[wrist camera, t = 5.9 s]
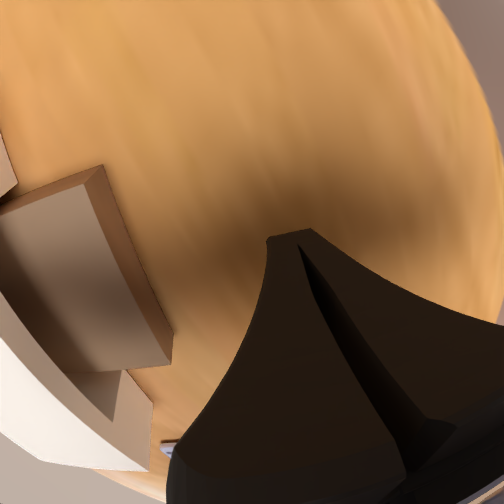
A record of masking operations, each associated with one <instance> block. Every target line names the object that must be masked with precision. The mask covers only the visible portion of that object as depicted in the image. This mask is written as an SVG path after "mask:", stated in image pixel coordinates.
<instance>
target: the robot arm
mask: <svg viewBox="0 0 504 504" xmlns="http://www.w3.org/2000/svg"><path fill="white" fill-rule="evenodd" d="M266 244H267V262H266V269H265V274H264V280H263V284H262V288H261V292H260V295H259V299H258V302H257V306H256V309H255V312H254V314H253V317H252V320H251V323H250V325H249V328H248V330H247V332H246V335H245V337H244V339H243V341H242V343H241V346H240V348H239V350H238V352H237V354H236V356H235V358H234V360H233V362H232V364H231V365H230V367H229V369H228V371H227V373H226V374H225V376H224V377H223V379H222V381H221V382H220V384H219V386H218V387H217V389H216V390H215V392H214V394H213V395H212V397H211V398H210V400H209V401H208V403H207V404H206V406H205V407H204V409H203V410H202V411H201V413H200V414H199V415H198V417H197V418H196V419H195V421H194V422H193V423H192V424H191V426H190V427H189V428H188V430H187V431H186V432H185V433H184V435H183V436H182V437H181V439H180V440H179V441H178V442H177V443H162V444H160V450H161V451H162V452H163V453H164V454H165V455H167V456H168V457H169V458H170V459H171V460H170V464H169V470H168V477H167V484H166V504H468V503H470V502H471V501H473V500H475V499H476V498H478V497H480V496H481V495H483V494H484V493H486V492H487V491H489V490H490V489H492V488H494V487H495V486H497V485H498V484H499V483H501V482H502V481H504V326H502V325H497V324H493V323H490V322H487V321H483V320H480V319H477V318H474V317H471V316H467V315H464V314H462V313H459V312H456V311H453V310H450V309H448V308H445V307H443V306H441V305H438V304H436V303H433V302H431V301H428V300H426V299H424V298H422V297H419V296H417V295H415V294H413V293H411V292H409V291H407V290H405V289H403V288H401V287H399V286H397V285H395V284H393V283H391V282H390V281H388V280H386V279H384V278H382V277H381V276H379V275H377V274H376V273H374V272H372V271H371V270H369V269H367V268H366V267H364V266H363V265H361V264H360V263H358V262H357V261H355V260H354V259H352V258H351V257H349V256H348V255H346V254H345V253H344V252H342V251H341V250H339V249H338V248H337V247H335V246H334V245H333V244H331V243H330V242H328V241H327V240H326V239H324V238H323V237H322V236H320V235H319V234H318V233H316V232H315V231H314V230H312V229H311V228H309V229H304V230H300V231H295V232H291V233H286V234H281V235H277V236H272V237H269V238H268V239H267V241H266ZM0 504H1V503H0ZM479 504H504V486H503V487H502V488H500V489H498V490H497V491H495V492H494V493H492V494H491V495H489V496H488V497H486V498H485V499H484V500H483V501H481V502H480V503H479Z"/></svg>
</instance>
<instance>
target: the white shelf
mask: <svg viewBox="0 0 504 504" xmlns="http://www.w3.org/2000/svg"><path fill="white" fill-rule="evenodd" d="M17 183H18V182H17V179H16V176H15V174H14V171H13V169H12V166H11V163H10V160H9V158H8V155H7V152H6V149H5V146H4V143H3V140H2V137H1V133H0V197H1V196H2V195H4V194H5V193H6V192H7V191H9V190H10V189H11V188H12V187H14V186H15V185H16V184H17ZM152 413H153V403H152V402H151V401H150V400H149V398H148V397H147V396H146V395H145V394H144V392H143V391H142V390H141V389H140V388H139V386H138V385H137V384H136V383H135V381H134V380H133V379H132V378H131V376H130V375H129V374H128V372H127V371H126V370H116V371H103V372H87V373H66V374H63V373H62V371H61V370H60V369H59V368H58V367H57V366H56V365H55V363H54V362H53V361H52V360H51V359H50V358H49V356H48V355H47V354H46V353H45V352H44V350H43V349H42V348H41V347H40V346H39V344H38V343H37V342H36V341H35V339H34V338H33V337H32V335H31V334H30V333H29V331H28V330H27V329H26V327H25V326H24V325H23V323H22V322H21V321H20V319H19V318H18V317H17V315H16V314H15V312H14V311H13V309H12V308H11V307H10V305H9V304H8V302H7V301H6V299H5V298H4V296H3V295H2V293H1V292H0V432H1V433H3V434H4V435H5V436H6V437H8V438H9V439H11V440H12V441H13V442H15V443H16V444H17V445H19V446H20V447H22V448H23V449H25V450H26V451H27V452H29V453H30V454H32V455H33V456H35V457H36V458H38V459H39V460H41V461H46V462H51V463H57V464H63V465H70V466H77V467H86V468H95V469H106V470H121V471H149V461H150V442H151V426H152Z"/></svg>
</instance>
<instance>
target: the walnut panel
mask: <svg viewBox="0 0 504 504" xmlns="http://www.w3.org/2000/svg"><path fill="white" fill-rule="evenodd" d="M0 292H1V293H2V295H3V296H4V298H5V299H6V301H7V302H8V304H9V305H10V307H11V308H12V309H13V311H14V312H15V314H16V315H17V317H18V318H19V319H20V321H21V322H22V323H23V325H24V326H25V327H26V329H27V330H28V331H29V333H30V334H31V335H32V337H33V338H34V339H35V341H36V342H37V343H38V344H39V346H40V347H41V348H42V349H43V350H44V352H45V353H46V354H47V355H48V356H49V358H50V359H51V360H52V361H53V362H54V363H55V365H56V366H57V367H58V368H59V369H60V370H61V371H62V373H63V374H66V373H87V372H103V371H116V370H127V369H138V368H147V367H156V366H165V365H171V359H172V347H173V335H174V334H173V332H172V330H171V328H170V326H169V324H168V322H167V320H166V318H165V316H164V314H163V312H162V310H161V308H160V306H159V303H158V301H157V299H156V297H155V295H154V293H153V291H152V288H151V286H150V284H149V282H148V280H147V277H146V275H145V273H144V271H143V268H142V266H141V264H140V261H139V259H138V257H137V254H136V252H135V249H134V247H133V245H132V242H131V240H130V237H129V235H128V232H127V230H126V227H125V225H124V222H123V220H122V217H121V214H120V212H119V209H118V206H117V204H116V201H115V198H114V196H113V193H112V190H111V187H110V184H109V182H108V179H107V176H106V173H105V170H104V167H103V165H100V166H97V167H94V168H91V169H88V170H85V171H82V172H80V173H77V174H74V175H71V176H69V177H66V178H63V179H61V180H58V181H56V182H53V183H51V184H48V185H46V186H43V187H41V188H38V189H36V190H33V191H31V192H29V193H26V194H24V195H22V196H19V197H17V198H15V199H13V200H10V201H8V202H6V203H4V204H2V205H0Z"/></svg>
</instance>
